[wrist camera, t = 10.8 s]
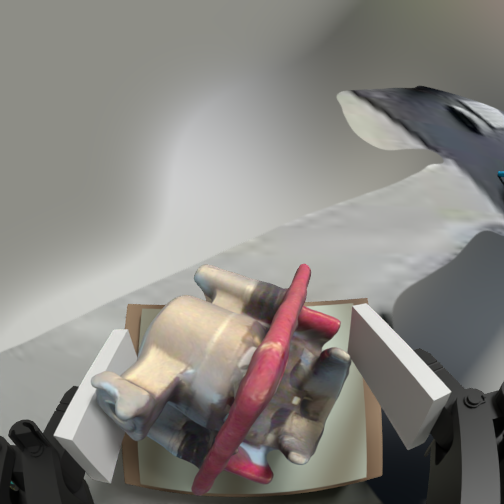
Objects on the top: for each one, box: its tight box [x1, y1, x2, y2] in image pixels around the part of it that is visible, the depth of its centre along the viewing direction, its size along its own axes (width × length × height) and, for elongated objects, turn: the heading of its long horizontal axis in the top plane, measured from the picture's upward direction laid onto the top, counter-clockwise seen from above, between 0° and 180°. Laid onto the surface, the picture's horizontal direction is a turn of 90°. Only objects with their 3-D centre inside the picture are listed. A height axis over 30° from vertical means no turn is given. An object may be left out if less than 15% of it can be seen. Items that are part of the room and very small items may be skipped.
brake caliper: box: [91, 264, 352, 496], centre depth 11 cm, size 11×11×12 cm
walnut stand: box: [122, 298, 382, 497], centre depth 17 cm, size 18×14×5 cm
